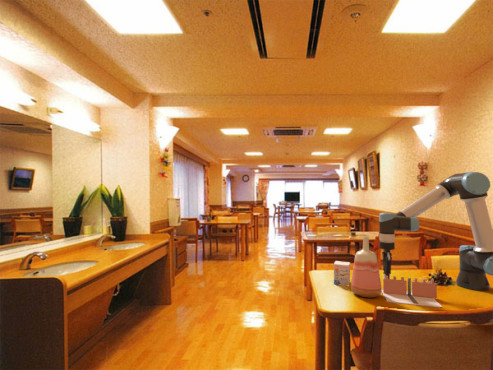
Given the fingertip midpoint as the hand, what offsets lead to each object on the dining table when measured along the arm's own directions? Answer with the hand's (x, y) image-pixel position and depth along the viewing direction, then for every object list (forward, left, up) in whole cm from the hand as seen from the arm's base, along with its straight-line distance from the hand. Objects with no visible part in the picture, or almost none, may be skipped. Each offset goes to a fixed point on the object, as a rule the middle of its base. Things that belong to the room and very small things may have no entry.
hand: (386, 285), depth 155 cm
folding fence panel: (-3, +6, -2) cm, 7 cm away
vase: (+12, +11, -3) cm, 16 cm away
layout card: (-8, +9, -3) cm, 13 cm away
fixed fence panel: (-15, +6, -2) cm, 16 cm away
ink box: (+23, -6, -3) cm, 24 cm away
